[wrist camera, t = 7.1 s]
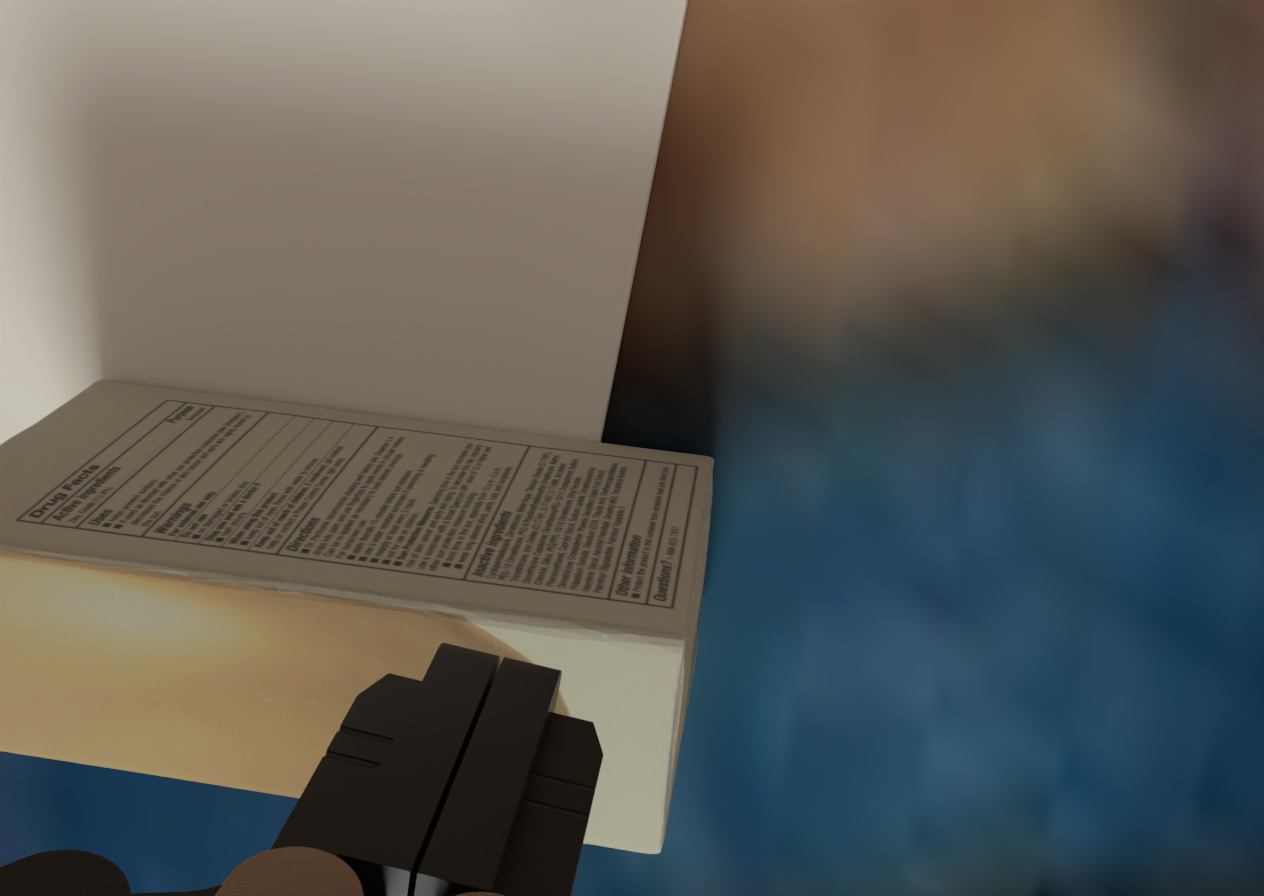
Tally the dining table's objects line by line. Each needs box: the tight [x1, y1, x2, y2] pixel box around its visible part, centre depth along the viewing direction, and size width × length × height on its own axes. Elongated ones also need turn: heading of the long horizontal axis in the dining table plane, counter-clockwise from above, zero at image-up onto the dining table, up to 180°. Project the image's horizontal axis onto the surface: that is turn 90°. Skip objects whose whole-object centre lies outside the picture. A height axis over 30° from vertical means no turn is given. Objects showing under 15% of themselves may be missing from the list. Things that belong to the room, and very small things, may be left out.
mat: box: [0, 0, 689, 445], centre depth 23 cm, size 15×20×1 cm
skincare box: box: [0, 380, 714, 854], centre depth 21 cm, size 6×4×12 cm
